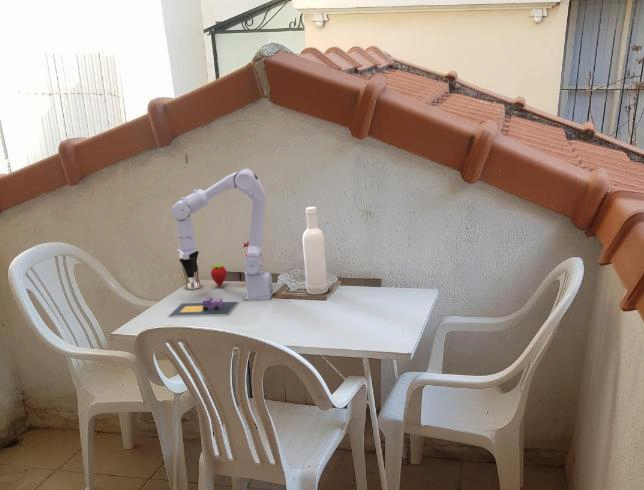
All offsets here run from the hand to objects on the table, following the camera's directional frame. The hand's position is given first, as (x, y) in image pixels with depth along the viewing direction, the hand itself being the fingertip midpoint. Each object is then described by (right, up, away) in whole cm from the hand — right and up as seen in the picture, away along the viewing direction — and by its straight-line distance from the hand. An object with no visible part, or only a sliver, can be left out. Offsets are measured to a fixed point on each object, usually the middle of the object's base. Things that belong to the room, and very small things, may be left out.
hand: (192, 274), depth 253 cm
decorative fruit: (+7, +5, +17) cm, 19 cm away
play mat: (+5, -14, -6) cm, 16 cm away
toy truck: (+9, -14, -6) cm, 17 cm away
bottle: (+46, -6, +4) cm, 46 cm away
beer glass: (-4, 0, +23) cm, 23 cm away
